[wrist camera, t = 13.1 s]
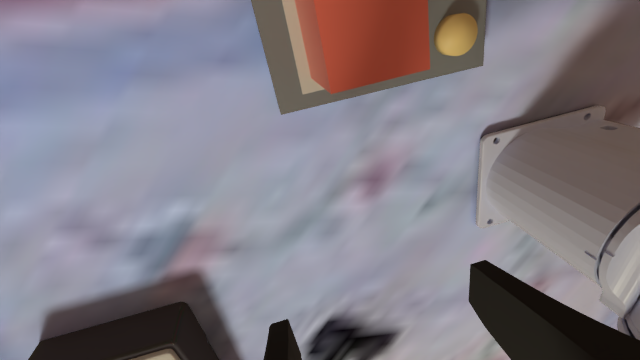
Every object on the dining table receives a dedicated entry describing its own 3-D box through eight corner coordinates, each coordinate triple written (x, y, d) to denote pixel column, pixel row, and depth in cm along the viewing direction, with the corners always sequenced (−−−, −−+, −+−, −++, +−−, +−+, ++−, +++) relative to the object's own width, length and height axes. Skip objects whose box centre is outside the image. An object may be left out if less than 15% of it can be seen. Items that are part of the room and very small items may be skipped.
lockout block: (383, 60, 16) (430, 69, 12) (311, 78, 16) (331, 93, 11) (374, -28, 14) (425, -58, 10) (292, -10, 14) (307, -32, 9)
